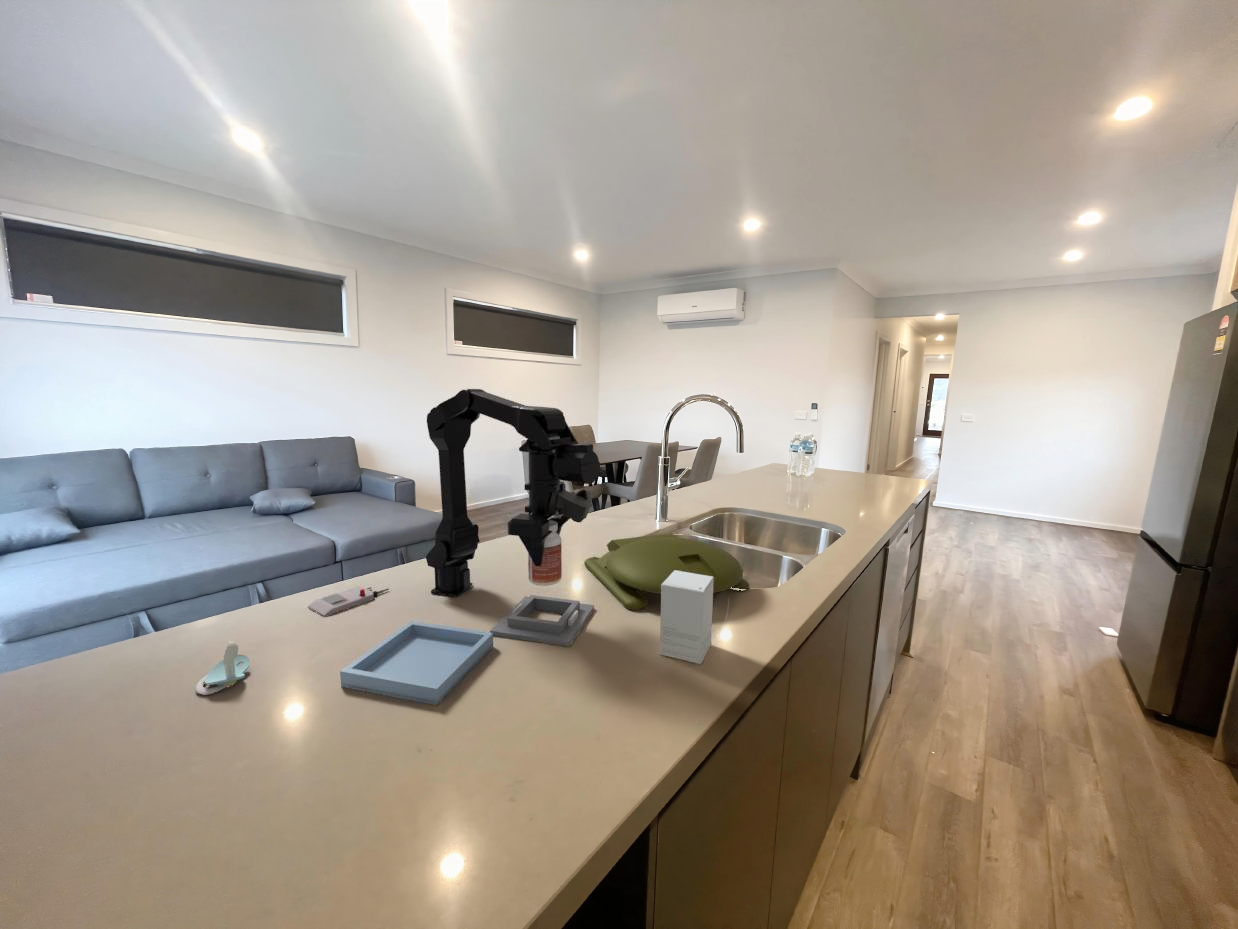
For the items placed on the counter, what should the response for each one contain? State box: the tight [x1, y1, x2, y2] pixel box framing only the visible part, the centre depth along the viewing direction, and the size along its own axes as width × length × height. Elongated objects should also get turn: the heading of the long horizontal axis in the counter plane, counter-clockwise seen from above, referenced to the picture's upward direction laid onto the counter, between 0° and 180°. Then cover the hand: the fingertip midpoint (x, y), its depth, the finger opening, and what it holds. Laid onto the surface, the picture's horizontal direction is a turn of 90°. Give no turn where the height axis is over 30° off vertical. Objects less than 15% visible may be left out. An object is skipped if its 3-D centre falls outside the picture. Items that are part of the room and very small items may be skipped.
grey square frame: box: [489, 594, 595, 648], centre depth 92 cm, size 15×15×2 cm
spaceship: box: [583, 533, 750, 611], centre depth 112 cm, size 35×31×10 cm
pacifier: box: [195, 640, 250, 696], centre depth 71 cm, size 7×6×6 cm
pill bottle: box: [527, 520, 563, 587], centre depth 90 cm, size 6×6×11 cm
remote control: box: [307, 586, 390, 617], centre depth 99 cm, size 7×16×3 cm, turn 146°
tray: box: [339, 620, 494, 706], centre depth 77 cm, size 16×16×2 cm
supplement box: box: [659, 570, 714, 665], centre depth 82 cm, size 7×7×13 cm
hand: (544, 559), depth 90 cm, fingers closed on pill bottle, 6 cm apart
